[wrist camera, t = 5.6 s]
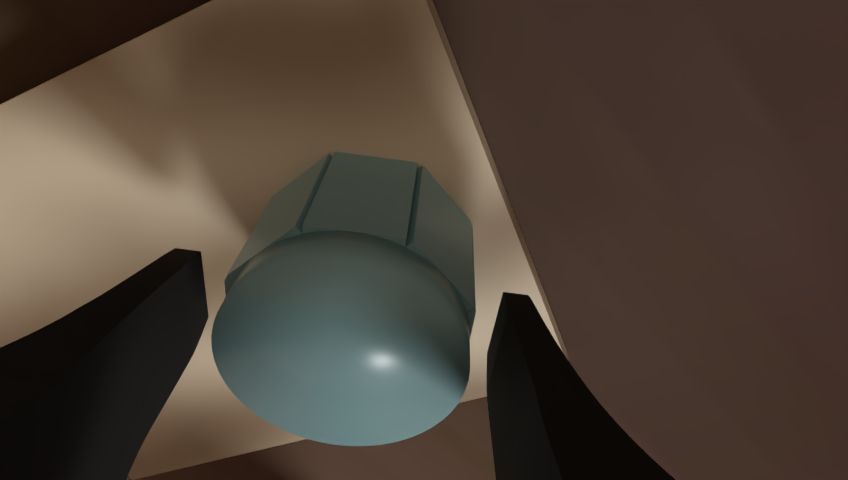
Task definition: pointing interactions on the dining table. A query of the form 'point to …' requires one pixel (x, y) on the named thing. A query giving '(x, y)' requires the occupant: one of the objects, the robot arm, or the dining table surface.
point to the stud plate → (234, 173)
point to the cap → (351, 304)
